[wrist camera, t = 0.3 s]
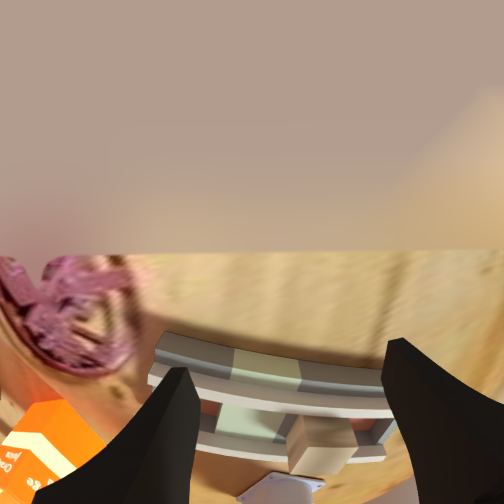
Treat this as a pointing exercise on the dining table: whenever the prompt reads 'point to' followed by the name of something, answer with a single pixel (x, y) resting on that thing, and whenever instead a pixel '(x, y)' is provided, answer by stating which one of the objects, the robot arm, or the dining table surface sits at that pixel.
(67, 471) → the orange juice
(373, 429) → the track
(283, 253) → the dining table surface
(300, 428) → the block
